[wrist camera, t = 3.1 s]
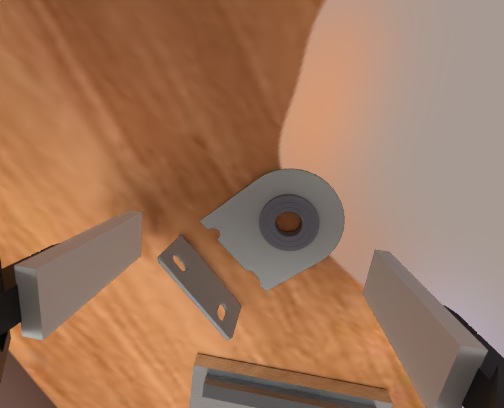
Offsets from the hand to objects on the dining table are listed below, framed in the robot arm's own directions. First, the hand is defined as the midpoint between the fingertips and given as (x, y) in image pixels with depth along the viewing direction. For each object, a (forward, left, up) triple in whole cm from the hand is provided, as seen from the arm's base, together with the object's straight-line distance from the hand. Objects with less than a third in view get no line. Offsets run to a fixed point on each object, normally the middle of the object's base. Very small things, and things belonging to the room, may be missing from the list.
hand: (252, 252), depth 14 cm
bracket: (0, 0, -3) cm, 3 cm away
